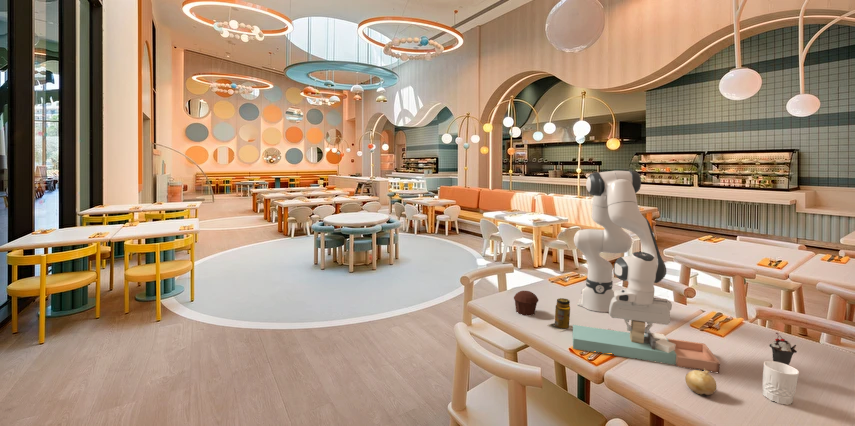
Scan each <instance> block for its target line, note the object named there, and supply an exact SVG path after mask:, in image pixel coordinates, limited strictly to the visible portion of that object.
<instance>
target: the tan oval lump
mask: <svg viewBox="0 0 855 426" xmlns="http://www.w3.org/2000/svg"><path fill="white" fill-rule="evenodd" d="M704 370H705V368H704ZM685 384H686V385H687V388H688V389H689V390H690V391H692V392H694V393H695V394H697V395H699V394H700V396H703V395H706V396H710V395H712V394H714V393H715V392H716V390H717V382H716V380H715V378H714V377H713V375H711V372H709V371H706V370H705V371H702V370H696V369H692V370H691V371H689V372H687V374H686V375H685Z"/></svg>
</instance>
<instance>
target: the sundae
mask: <svg viewBox="0 0 855 426" xmlns="http://www.w3.org/2000/svg"><path fill="white" fill-rule="evenodd" d="M775 334H776V335H777V338H775V339H774V340H775V341H772V343H770V344H769V345H768V347H770V348H771V351H772V361H775V362H780V363H784V364H787V365H789V366H790V363H791V361H792V357H793V355H794V354H795V353H796V354H797V353H798V351H797V350H796V347H797V345H796V344H794V345H793V346H792V344H791V342H789V341H788V340H786V339H785V338H783V337H782V336H781V335H780V334H779V332H775ZM779 337H780V338H779Z"/></svg>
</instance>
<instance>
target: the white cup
mask: <svg viewBox="0 0 855 426" xmlns="http://www.w3.org/2000/svg"><path fill="white" fill-rule="evenodd" d="M762 371H763V372H762V392H761V393H762V396H763V395H764V396H766V397H767V398H769V399H770V400H772V401H775V402H777V403H776V404H778V403H781V404H780V405H783V404H790V405H792V404H793V403H794V402H793V401H794V396H795V394H796V389H797V385H798V380H799V376H800V371H799V369H797V368H795V367H794V366H791V365H790V364H789V365H787V364H784V363H780V362H775V361H773V360H767V361H766V360H765V361H763V366H762ZM764 396H763V397H764ZM767 398H766V399H767ZM770 400H769V401H770ZM772 401H771V402H772ZM775 402H774V403H775ZM791 403H792V404H791Z"/></svg>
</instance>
